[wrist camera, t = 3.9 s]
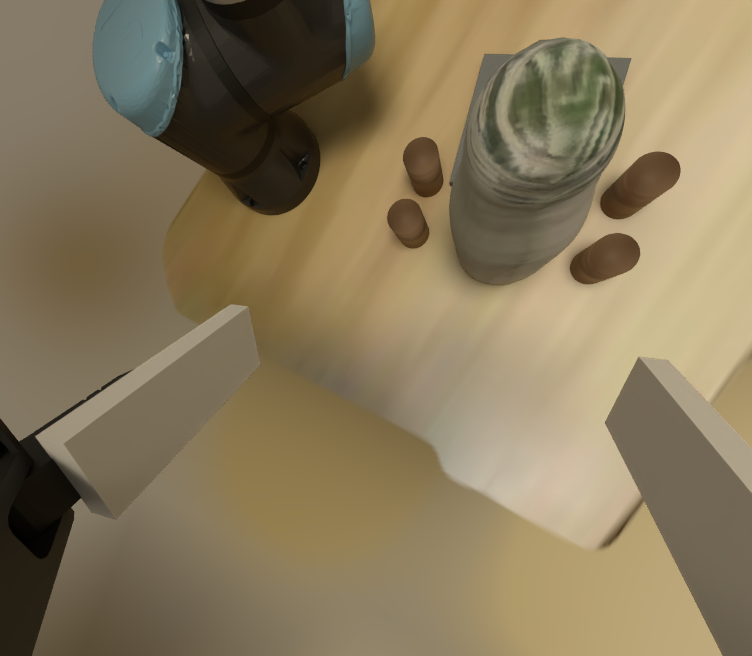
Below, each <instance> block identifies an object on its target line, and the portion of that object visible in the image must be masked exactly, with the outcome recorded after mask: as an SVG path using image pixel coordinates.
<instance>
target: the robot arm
mask: <svg viewBox="0 0 752 656" xmlns="http://www.w3.org/2000/svg"><path fill="white" fill-rule="evenodd" d="M374 46H375V29H374V21H373V15H372V9H371V4H370V0H104V1H103V4H102V6H101V9H100V11H99V15H98V18H97V21H96V26H95V32H94V38H93V65H94V71H95V76H96V80H97V83H98V86H99V88H100V90H101V92H102V94H103V96H104V98H105V99H106V101H107V102H108V103H109V105H110V106H111V107H112V108H113V109H114V110H115V111H116V112H118V113H119V114H120V115H122V116H123V117H125V118H126V119H128V120H129V121H131V122H132V123H134V124H135V125H136V126H138V127H139V128H141V130H142V131H143V132H144V133H145V134H147V135H149V136H152V137H154V138H155V139H157V140H159V141H160V142H162V143H164V144H166V145H167V146H169V147H171V148H172V149H174V150H176V151H178V152H179V153H181V154H183V155H184V156H186V157H188V158H190V159H191V160H193V161H195V162H196V163H198V164H200V165H202V166H203V167H205V168H207V169H208V170H210V171H212V172H214V173H215V174H217V175H218V176H219V177H220V178H221V179H222V181H223V182H224V183H225V184H226V186H227V187H228V188H229V189H230V191H231V192H232V193H233V194H234V196H235V197H236V198H237V199H238V200H239V201H240V202H241V203H243V204H244V205H245V206H247V207H249V208H251V209H253V210H254V211H256V212H259V213H262V214H266V215H277V214H281V213H284V212H287V211H289V210H291V209H293V208H294V207H296V206H297V205H298V204H300V203H301V202H302V201H303V200H304V199H305V198H306V196H307V195H308V194H309V192H310V191H311V189H312V187H313V185H314V183H315V181H316V178H317V175H318V171H319V165H320V152H319V146H318V143H317V140H316V138H315V136H314V134H313V132H312V131H311V129H310V128H309V127H308V126H307V124H306V123H305V122H304V121H303V120H302V119H301V118H300V117H299V116H298V115H297V114H295V113H294V112H292V111H290V110H289V109H291V108H293V107H294V106H296V105H298V104H300V103H302V102H303V101H305V100H307V99H309V98H310V97H312V96H314V95H316V94H318V93H319V92H321V91H323V90H325V89H326V88H328V87H330V86H332V85H334V84H335V83H337V82H339V81H342V80H344V79H346V78H347V76H348V74H350V73H351V72H353V71H354V70H356V69H357V68H359V67H360V66H361V65H363V64H364V63H366V62H367V61H368V60H369V58H370V57H371V55H372V53H373V50H374ZM259 366H260V361H259V356H258V351H257V346H256V341H255V337H254V332H253V327H252V322H251V317H250V312H249V308H248V306H240V305H232V304H230V305H229V306H227V307H226V308H224V309H223V310H221V311H220V312H218V313H217V314H215V315H214V316H212V317H211V318H210V319H208V320H207V321H205V322H204V323H202V324H201V325H199V326H198V327H196V328H195V329H193V330H192V331H190V332H189V333H187V334H186V335H184V336H183V337H182V338H180V339H179V340H177V341H175V342H174V343H173V344H171V345H170V346H168V347H167V348H165V349H164V350H162V351H161V352H159V353H158V354H156V355H155V356H153V357H152V358H150V359H149V360H147V361H146V362H145V363H143V364H141V365H140V366H139V367H137V368H135V369H133V370H131V371H129V372H127V373H124V374H122V375H120V376H118V377H116V378H115V379H113V380H112V381H111V382H109V383H107V384H106V385H104V386H103V387H102V388H101V390H97V391H95V392H94V393H92V394H91V395H89V396H88V397H87V399H86V400H82V401H80V402H79V403H77V404H76V405H75V406H73V407H71V408H70V409H68V410H67V411H65V412H64V413H62V414H61V415H59V416H58V417H56V418H55V419H53V420H52V421H50V422H49V423H47V424H46V425H44V426H43V427H41V428H40V429H38V430H37V431H35V432H34V433H32V434H31V435H29V436H28V437H26V438H24V439H23V440H21V441H18V440H17V439H16V438H15V436H14V435H13V434H12V433H11V432H10V430H9V429H8V428H7V426H6V425H5V424H4V422H3V421H2V420H1V419H0V656H32V653H33V650H34V647H35V643H36V640H37V637H38V634H39V631H40V627H41V624H42V621H43V618H44V614H45V611H46V608H47V604H48V601H49V598H50V595H51V592H52V589H53V585H54V582H55V579H56V576H57V572H58V569H59V566H60V563H61V559H62V556H63V553H64V549H65V546H66V543H67V540H68V536H69V534H70V530H71V527H72V524H73V521H74V511H73V510H72V508H71V507H72V506H73V505H74V504H75V503H76V502H77V501H78V500H79V499H80V498H82V500H83V501H84V503H85V504H86V505H87V507H88V508H89V509H90V511H91V512H93V513H96V514H99V515H102V516H106V517H109V518H112V519H115V520H116V519H117V518H118V517H119V516H120V515H121V514H122V513H123V512H124V511H125V509H127V507H128V506H129V505H130V504H131V503H132V502H133V501H134V500H135V499H136V498H137V497H138V496H139V495H140V493H141V492H142V491H143V490H144V489H145V488H146V487H147V486H148V485H149V484H150V483H151V482H152V481H153V480H154V479H155V477H156V476H157V475H158V474H159V473H160V472H161V471H162V470H163V469H164V468H165V467H166V466H167V465H168V464H169V462H170V461H171V460H172V459H173V458H174V457H175V456H176V455H177V454H178V453H179V452H180V451H181V450H182V449H183V447H184V446H185V445H186V444H187V443H188V442H189V441H190V440H191V439H192V438H193V436H195V435H196V433H197V432H198V431H199V430H200V429H201V428H202V427H203V426H204V425H205V424H206V423H207V422H208V421H209V420H210V418H211V417H212V416H213V415H214V414H215V413H216V412H217V411H218V410H219V409H220V408H221V407H222V406H223V404H225V402H226V401H227V400H228V399H229V398H230V397H231V396H232V395H233V394H234V393H235V392H236V390H238V388H239V387H240V386H241V385H242V384H243V383H244V382H245V381H246V380H247V379H248V378H249V377H250V376H251V374H253V372H254V371H255V370H256V369H257V368H258V367H259ZM605 424H606V426H607V428H608V430H609V432H610V434H611V436H612V438H613V440H614V442H615V444H616V446H617V448H618V450H619V452H620V454H621V456H622V458H623V460H624V462H625V464H626V465H627V467H628V469H629V471H630V473H631V475H632V477H633V479H634V481H635V483H636V485H637V487H638V489H639V491H640V493H641V495H642V497H643V499H644V501H645V503H646V505H647V507H648V509H649V511H650V513H651V515H652V517H653V519H654V521H655V523H656V525H657V527H658V529H659V531H660V533H661V535H662V536H663V539H664V541H665V543H666V545H667V547H668V548H669V550H670V552H671V554H672V556H673V558H674V560H675V562H676V564H677V566H678V568H679V570H680V572H681V574H682V576H683V578H684V580H685V582H686V584H687V586H688V588H689V590H690V592H691V594H692V596H693V598H694V600H695V602H696V604H697V606H698V608H699V610H700V612H701V614H702V616H703V618H704V620H705V621H706V624H707V625H708V627H709V630H710V632H711V633H712V635H713V637H714V639H715V641H716V643H717V645H718V647H719V649H720V651H721V653H722V655H723V656H752V448H751V447H750V446H749V445H748V444H747V443H746V442H745V441H744V440H743V439H742V438H741V436H740V435H739V434H738V433H737V432H736V431H735V430H734V429H733V428H732V427H731V426H730V425H729V424H728V423H727V422H726V421H725V420H724V419H723V418H722V417H721V415H720V414H719V413H718V412H717V411H716V410H715V409H714V408H713V407H712V406H711V405H710V404H709V403H708V402H707V401H706V400H705V398H704V397H703V396H702V395H701V394H700V393H699V392H698V391H697V390H696V389H695V388H694V387H693V386H692V385H691V384H690V383H689V382H688V381H687V380H686V378H685V377H684V376H683V375H682V374H681V373H680V372H679V371H678V370H677V369H676V368H675V367H674V366H673V365H672V364H671V363H670V362H669V361H668V360H662V359H654V358H647V357H638V359H637V361H636V363H635V365H634V367H633V369H632V371H631V373H630V375H629V377H628V378H627V380H626V382H625V384H624V386H623V388H622V390H621V392H620V394H619V396H618V398H617V400H616V402H615V404H614V406H613V408H612V410H611V411H610V413H609V415H608V417H607V419H606V421H605Z"/></svg>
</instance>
